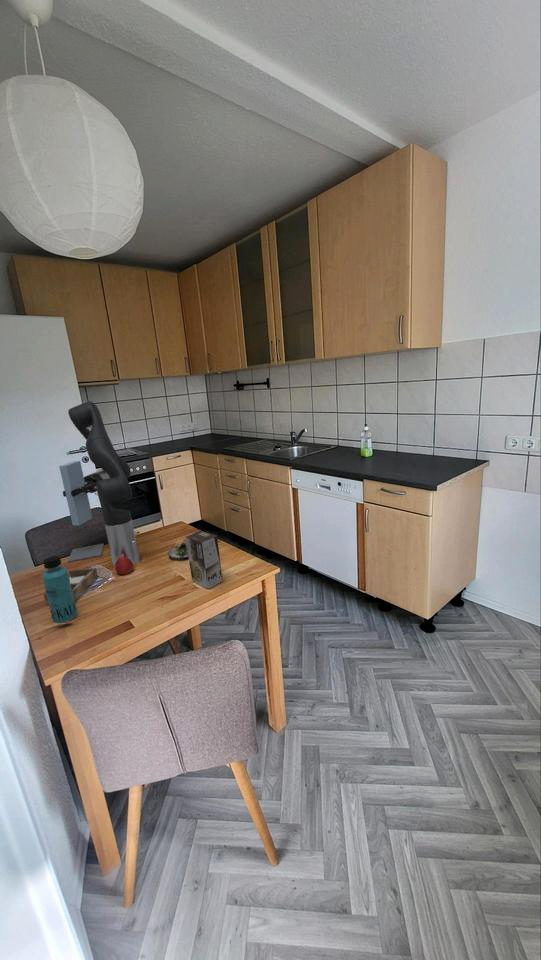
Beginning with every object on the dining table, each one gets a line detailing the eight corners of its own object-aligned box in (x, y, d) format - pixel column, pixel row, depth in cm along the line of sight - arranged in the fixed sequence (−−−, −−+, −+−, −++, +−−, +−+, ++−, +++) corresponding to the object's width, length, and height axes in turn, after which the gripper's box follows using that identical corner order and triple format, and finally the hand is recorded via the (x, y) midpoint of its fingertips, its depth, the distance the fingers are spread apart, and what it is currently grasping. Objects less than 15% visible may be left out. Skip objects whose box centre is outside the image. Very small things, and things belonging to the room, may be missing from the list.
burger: (184, 564, 139) (181, 545, 137) (161, 558, 145) (158, 540, 144) (206, 551, 149) (203, 533, 147) (184, 545, 155) (181, 528, 153)
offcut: (66, 584, 128) (65, 579, 127) (85, 580, 130) (84, 575, 129) (63, 592, 123) (62, 586, 123) (84, 587, 125) (82, 582, 124)
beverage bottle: (60, 616, 112) (44, 554, 107) (83, 613, 113) (68, 551, 108) (49, 630, 106) (32, 565, 101) (74, 627, 106) (58, 562, 101)
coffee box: (223, 581, 125) (218, 535, 120) (208, 589, 120) (201, 542, 116) (206, 573, 131) (200, 529, 127) (191, 581, 126) (184, 536, 122)
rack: (73, 582, 132) (70, 569, 130) (98, 581, 131) (96, 568, 130) (46, 609, 116) (42, 595, 115) (74, 608, 116) (71, 593, 115)
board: (86, 517, 157) (73, 461, 151) (92, 517, 157) (80, 461, 150) (72, 525, 150) (59, 466, 143) (79, 525, 149) (65, 465, 143)
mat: (104, 544, 162) (103, 543, 162) (101, 556, 151) (101, 554, 151) (73, 550, 159) (72, 549, 159) (68, 562, 148) (67, 561, 148)
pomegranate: (118, 581, 130) (113, 560, 128) (116, 574, 135) (112, 553, 133) (135, 576, 132) (131, 555, 130) (133, 569, 137) (129, 549, 135)
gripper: (80, 473, 162) (49, 485, 146) (109, 472, 159) (81, 484, 143) (83, 490, 164) (54, 503, 148) (112, 489, 161) (86, 503, 145)
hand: (68, 494), depth 146 cm, fingers closed on board, 3 cm apart
